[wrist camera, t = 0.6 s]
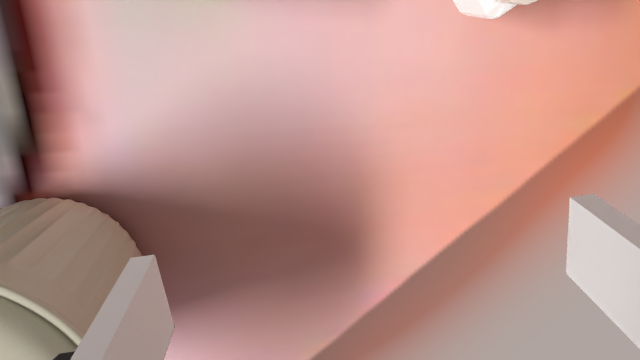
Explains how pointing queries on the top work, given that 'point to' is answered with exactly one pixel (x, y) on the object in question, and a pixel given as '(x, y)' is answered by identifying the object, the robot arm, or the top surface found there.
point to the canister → (55, 274)
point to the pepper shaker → (488, 7)
